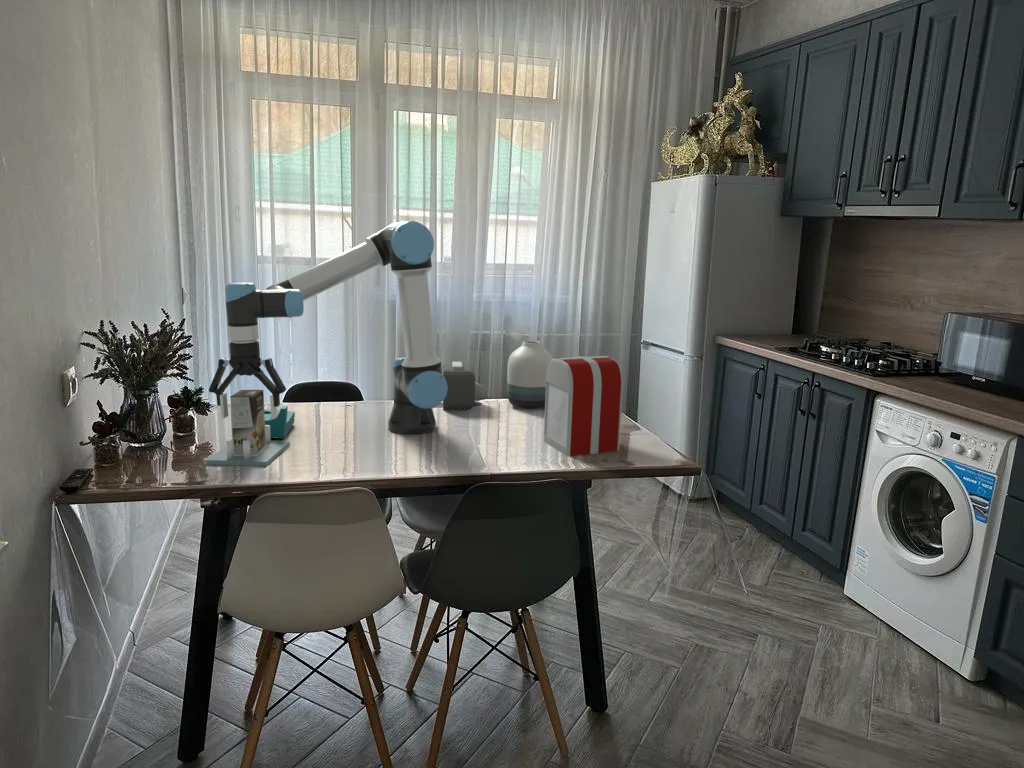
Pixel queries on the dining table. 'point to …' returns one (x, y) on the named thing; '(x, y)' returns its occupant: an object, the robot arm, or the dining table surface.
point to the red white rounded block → (583, 405)
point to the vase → (528, 375)
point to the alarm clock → (459, 386)
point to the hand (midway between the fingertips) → (249, 417)
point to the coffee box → (248, 420)
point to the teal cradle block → (279, 422)
